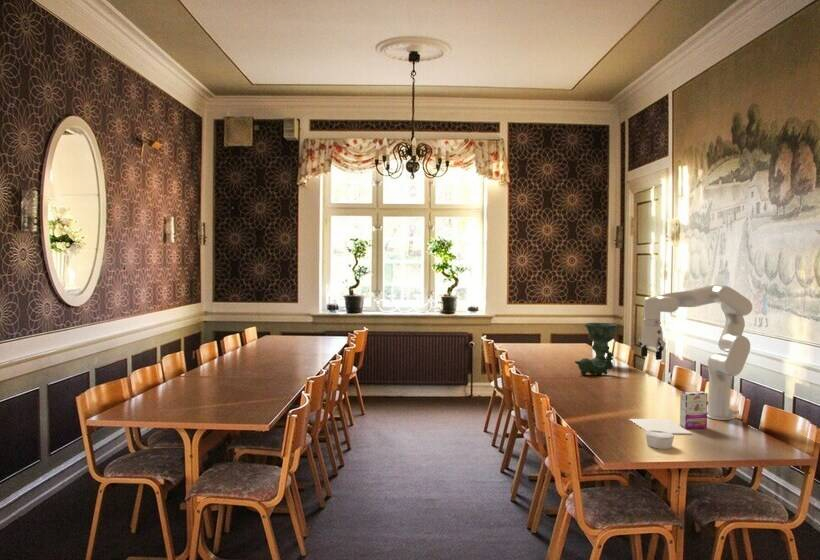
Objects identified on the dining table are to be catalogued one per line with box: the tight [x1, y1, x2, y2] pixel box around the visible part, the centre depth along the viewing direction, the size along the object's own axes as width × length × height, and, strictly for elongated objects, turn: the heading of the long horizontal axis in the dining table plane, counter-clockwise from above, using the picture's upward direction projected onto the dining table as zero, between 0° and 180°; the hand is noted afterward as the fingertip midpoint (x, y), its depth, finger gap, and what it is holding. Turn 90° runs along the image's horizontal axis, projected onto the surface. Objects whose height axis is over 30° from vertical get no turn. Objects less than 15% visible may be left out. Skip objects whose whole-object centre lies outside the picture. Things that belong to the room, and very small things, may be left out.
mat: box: [628, 418, 693, 435], centre depth 296 cm, size 19×24×1 cm
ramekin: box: [645, 430, 675, 450], centre depth 266 cm, size 11×11×5 cm
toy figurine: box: [574, 349, 614, 377], centre depth 422 cm, size 9×19×25 cm
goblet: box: [584, 322, 619, 368], centre depth 457 cm, size 22×23×30 cm
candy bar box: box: [679, 390, 708, 430], centre depth 296 cm, size 11×5×16 cm, turn 101°
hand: (651, 358), depth 308 cm, fingers open, 9 cm apart
